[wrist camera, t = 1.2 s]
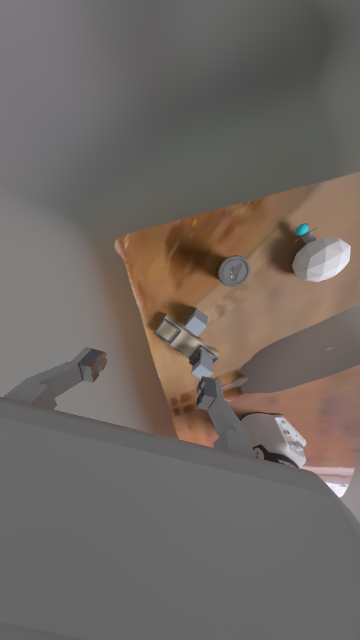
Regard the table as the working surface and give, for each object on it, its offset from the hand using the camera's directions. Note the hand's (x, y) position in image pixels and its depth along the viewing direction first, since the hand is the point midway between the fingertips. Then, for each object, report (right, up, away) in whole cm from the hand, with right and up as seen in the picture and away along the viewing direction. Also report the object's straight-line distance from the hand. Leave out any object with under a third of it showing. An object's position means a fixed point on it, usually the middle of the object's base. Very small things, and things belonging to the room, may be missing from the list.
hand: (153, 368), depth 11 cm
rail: (+4, -3, +32) cm, 33 cm away
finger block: (+8, +5, +29) cm, 30 cm away
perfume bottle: (+30, +19, +19) cm, 40 cm away
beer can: (+14, +17, +23) cm, 32 cm away
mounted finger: (+9, -7, +30) cm, 33 cm away
